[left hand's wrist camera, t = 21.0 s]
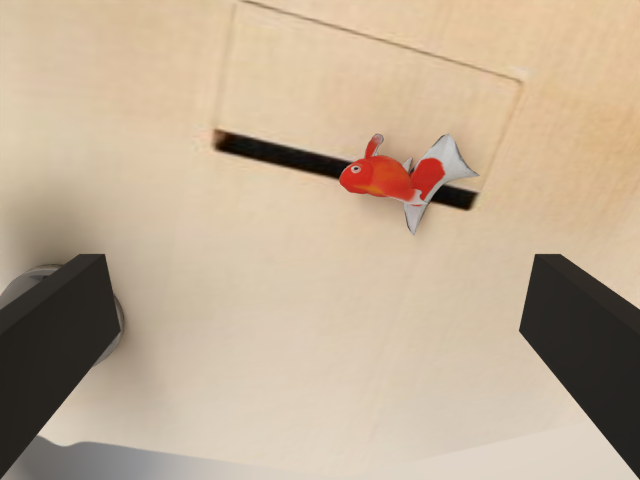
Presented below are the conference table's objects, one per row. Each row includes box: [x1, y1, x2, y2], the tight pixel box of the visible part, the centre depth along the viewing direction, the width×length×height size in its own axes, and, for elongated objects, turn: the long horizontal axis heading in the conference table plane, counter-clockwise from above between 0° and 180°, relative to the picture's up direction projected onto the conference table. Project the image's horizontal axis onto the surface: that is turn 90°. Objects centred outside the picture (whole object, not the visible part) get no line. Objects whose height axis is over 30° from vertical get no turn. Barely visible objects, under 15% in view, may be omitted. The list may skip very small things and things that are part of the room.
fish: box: [339, 134, 480, 236], centre depth 44 cm, size 11×16×10 cm
